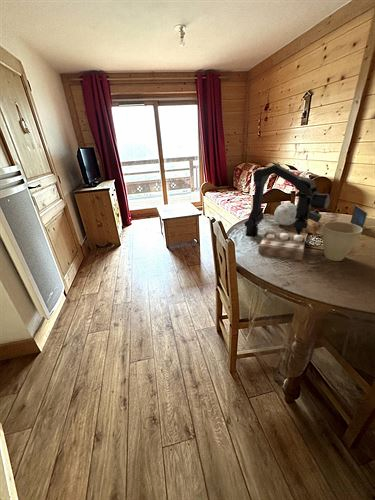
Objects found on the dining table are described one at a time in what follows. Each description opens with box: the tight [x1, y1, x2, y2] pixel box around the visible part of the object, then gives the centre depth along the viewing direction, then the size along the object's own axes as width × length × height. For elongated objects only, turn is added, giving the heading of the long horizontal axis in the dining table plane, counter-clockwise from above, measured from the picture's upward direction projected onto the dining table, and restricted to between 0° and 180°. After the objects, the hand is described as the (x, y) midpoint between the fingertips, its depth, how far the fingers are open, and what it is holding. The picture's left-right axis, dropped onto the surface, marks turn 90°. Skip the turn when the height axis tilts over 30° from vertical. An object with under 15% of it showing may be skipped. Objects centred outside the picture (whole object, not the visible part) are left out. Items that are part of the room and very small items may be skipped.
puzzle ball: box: [274, 202, 297, 227], centre depth 145 cm, size 15×15×15 cm
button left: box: [266, 234, 275, 239], centre depth 122 cm, size 4×4×4 cm
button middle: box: [280, 232, 289, 240], centre depth 118 cm, size 4×4×4 cm
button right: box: [293, 234, 303, 242], centre depth 115 cm, size 4×4×4 cm
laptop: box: [350, 204, 368, 234], centre depth 132 cm, size 18×12×13 cm
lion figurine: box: [302, 220, 325, 237], centre depth 130 cm, size 15×5×9 cm, turn 35°
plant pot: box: [322, 221, 363, 262], centre depth 101 cm, size 15×15×16 cm
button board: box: [257, 230, 307, 261], centre depth 117 cm, size 21×22×5 cm
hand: (298, 234), depth 114 cm, fingers closed
